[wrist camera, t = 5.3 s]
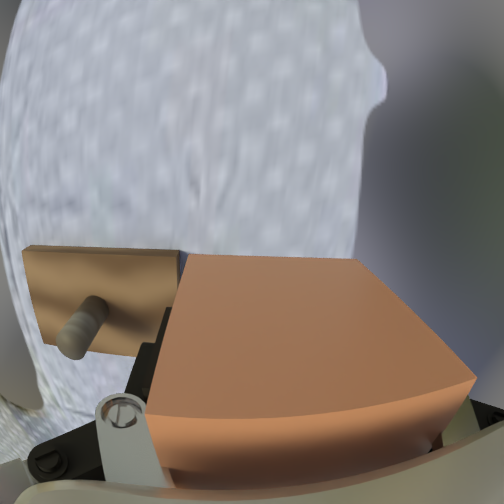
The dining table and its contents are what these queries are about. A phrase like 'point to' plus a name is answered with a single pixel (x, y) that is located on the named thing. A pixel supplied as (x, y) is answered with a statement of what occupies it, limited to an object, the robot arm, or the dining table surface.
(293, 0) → the dining table surface
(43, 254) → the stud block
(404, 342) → the peach foam cube
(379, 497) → the robot arm
